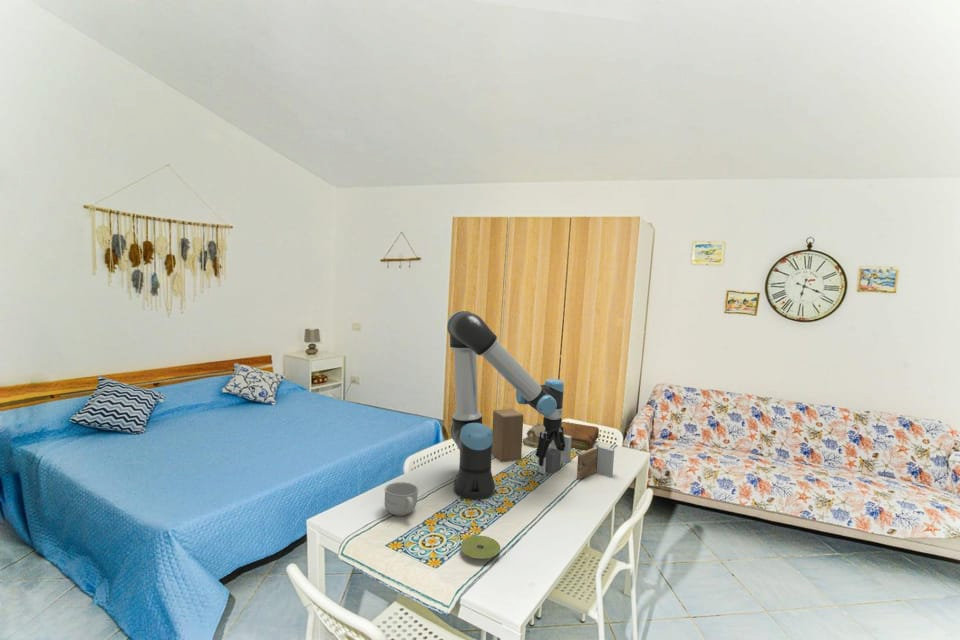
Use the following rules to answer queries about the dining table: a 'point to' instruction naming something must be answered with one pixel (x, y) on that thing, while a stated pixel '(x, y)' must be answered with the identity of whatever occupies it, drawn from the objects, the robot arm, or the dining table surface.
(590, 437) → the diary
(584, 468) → the door
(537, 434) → the ceramic model
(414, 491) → the teacup
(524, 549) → the dining table surface
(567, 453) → the door frame
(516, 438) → the wooden block
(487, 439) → the robot arm
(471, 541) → the olive green disc
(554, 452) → the block
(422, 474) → the dining table surface
